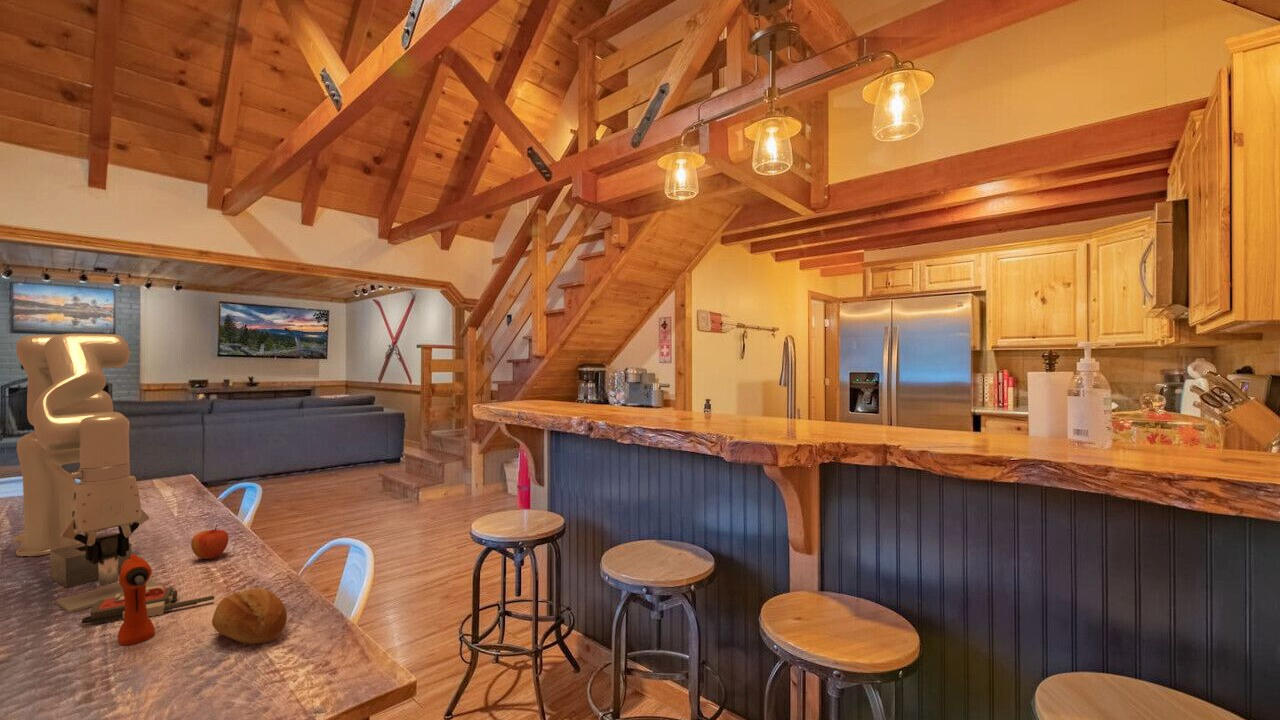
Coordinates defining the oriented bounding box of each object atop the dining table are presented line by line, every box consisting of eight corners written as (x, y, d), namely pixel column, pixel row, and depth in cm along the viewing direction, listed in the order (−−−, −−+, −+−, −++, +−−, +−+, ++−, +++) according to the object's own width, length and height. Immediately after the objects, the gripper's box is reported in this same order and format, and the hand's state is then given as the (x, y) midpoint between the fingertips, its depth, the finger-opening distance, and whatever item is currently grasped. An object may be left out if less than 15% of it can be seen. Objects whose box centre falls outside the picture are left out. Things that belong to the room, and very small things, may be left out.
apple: (184, 561, 135) (184, 529, 135) (217, 551, 142) (216, 520, 142) (203, 565, 132) (202, 532, 132) (235, 555, 139) (234, 523, 139)
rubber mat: (55, 603, 113) (55, 600, 113) (142, 578, 125) (142, 576, 125) (69, 613, 108) (69, 610, 108) (159, 586, 120) (159, 584, 120)
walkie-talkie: (77, 634, 101) (213, 606, 112) (76, 610, 101) (213, 584, 112) (92, 615, 108) (219, 590, 119) (91, 593, 108) (218, 570, 119)
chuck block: (50, 578, 126) (49, 550, 126) (114, 562, 135) (113, 536, 135) (66, 588, 120) (65, 558, 120) (131, 570, 130) (131, 543, 130)
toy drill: (123, 665, 87) (120, 569, 88) (116, 638, 100) (113, 555, 101) (163, 652, 91) (160, 560, 92) (152, 628, 104) (149, 548, 105)
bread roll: (243, 659, 91) (242, 612, 91) (197, 639, 98) (196, 594, 98) (301, 632, 100) (300, 589, 100) (255, 615, 107) (254, 575, 107)
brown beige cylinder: (90, 586, 115) (89, 539, 114) (108, 579, 118) (106, 533, 118) (109, 586, 115) (108, 538, 115) (126, 578, 118) (124, 532, 118)
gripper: (55, 483, 107) (58, 576, 107) (162, 467, 122) (164, 549, 122) (43, 479, 111) (46, 569, 111) (148, 464, 125) (150, 544, 126)
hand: (107, 558), depth 117 cm, fingers closed on brown beige cylinder, 3 cm apart
